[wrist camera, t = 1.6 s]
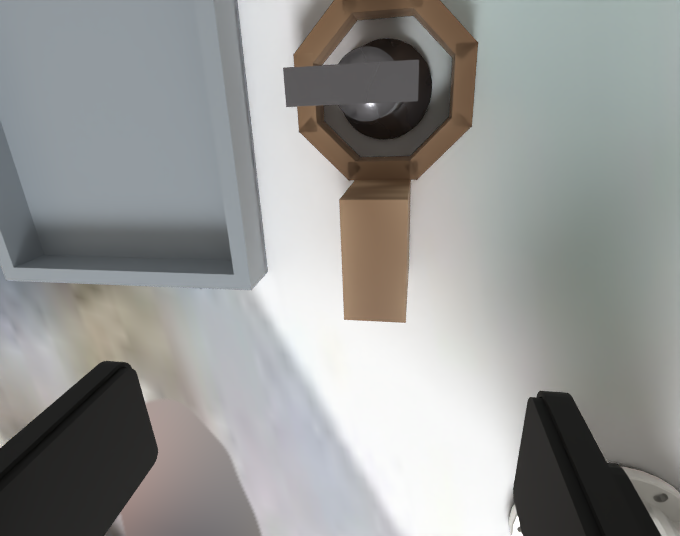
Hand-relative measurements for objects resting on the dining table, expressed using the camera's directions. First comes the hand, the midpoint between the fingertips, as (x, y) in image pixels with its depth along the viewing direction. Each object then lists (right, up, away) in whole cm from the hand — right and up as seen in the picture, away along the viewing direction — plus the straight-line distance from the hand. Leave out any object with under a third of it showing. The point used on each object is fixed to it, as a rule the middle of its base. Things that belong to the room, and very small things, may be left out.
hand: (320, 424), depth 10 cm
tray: (-14, +14, +16) cm, 25 cm away
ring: (+3, +11, +14) cm, 18 cm away
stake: (+3, +13, +13) cm, 19 cm away
